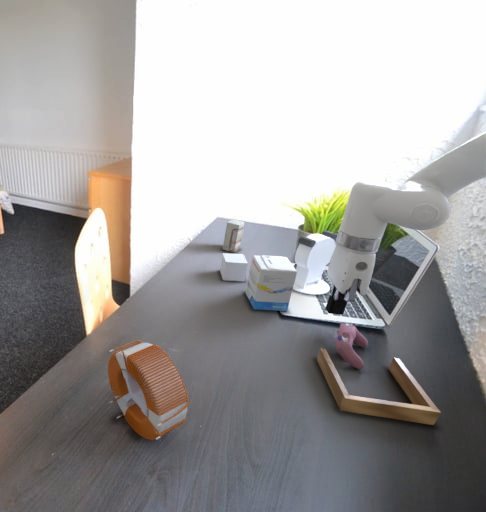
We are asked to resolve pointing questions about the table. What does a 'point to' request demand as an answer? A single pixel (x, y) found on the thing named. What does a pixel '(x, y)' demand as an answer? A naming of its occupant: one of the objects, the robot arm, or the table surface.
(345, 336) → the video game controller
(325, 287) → the white curved upright piece
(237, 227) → the cosmetics bottle
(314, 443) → the table surface
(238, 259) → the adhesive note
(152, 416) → the coil
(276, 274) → the ink box
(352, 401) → the bay
